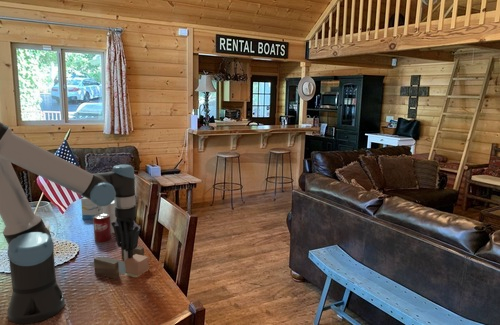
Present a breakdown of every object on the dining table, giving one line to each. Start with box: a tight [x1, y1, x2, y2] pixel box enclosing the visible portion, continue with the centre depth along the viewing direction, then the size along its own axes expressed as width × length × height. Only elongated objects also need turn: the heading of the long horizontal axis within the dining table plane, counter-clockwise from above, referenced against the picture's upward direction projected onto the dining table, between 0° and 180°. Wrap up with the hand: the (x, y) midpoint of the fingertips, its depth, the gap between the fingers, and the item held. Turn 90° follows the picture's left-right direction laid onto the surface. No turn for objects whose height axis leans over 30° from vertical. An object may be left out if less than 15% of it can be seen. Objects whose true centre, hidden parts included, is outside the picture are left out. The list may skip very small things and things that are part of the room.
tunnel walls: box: [93, 245, 145, 280], centre depth 142 cm, size 16×10×6 cm, turn 156°
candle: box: [103, 201, 116, 234], centre depth 180 cm, size 7×7×15 cm
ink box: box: [80, 197, 103, 220], centre depth 201 cm, size 9×8×12 cm
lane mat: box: [87, 256, 148, 278], centre depth 143 cm, size 8×24×1 cm, turn 66°
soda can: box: [92, 214, 113, 244], centre depth 167 cm, size 7×7×12 cm
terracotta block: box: [125, 254, 150, 277], centre depth 139 cm, size 6×6×5 cm
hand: (128, 265), depth 141 cm, fingers closed
